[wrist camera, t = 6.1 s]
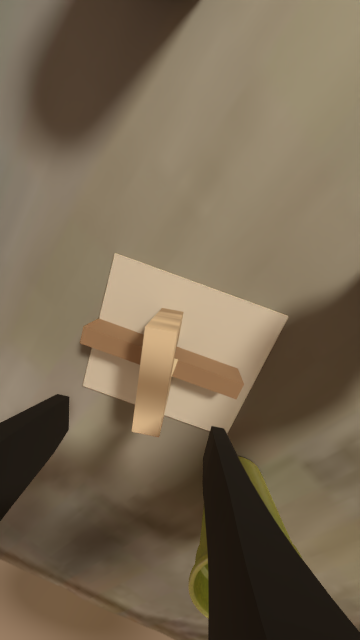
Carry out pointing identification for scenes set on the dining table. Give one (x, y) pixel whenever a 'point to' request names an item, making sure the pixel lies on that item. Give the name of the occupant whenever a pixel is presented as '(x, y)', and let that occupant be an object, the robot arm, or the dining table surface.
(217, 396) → the rail board
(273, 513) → the plant pot
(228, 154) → the dining table surface
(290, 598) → the robot arm
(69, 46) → the dining table surface
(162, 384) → the maple plate
